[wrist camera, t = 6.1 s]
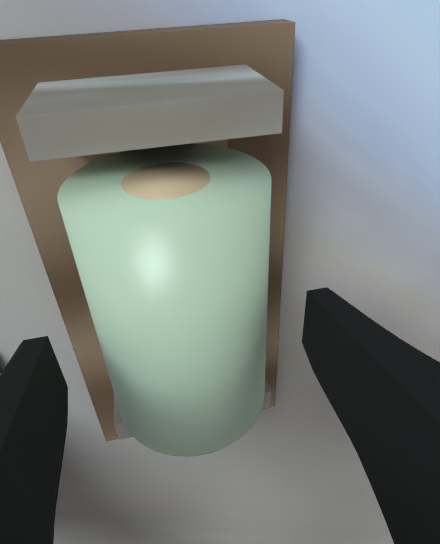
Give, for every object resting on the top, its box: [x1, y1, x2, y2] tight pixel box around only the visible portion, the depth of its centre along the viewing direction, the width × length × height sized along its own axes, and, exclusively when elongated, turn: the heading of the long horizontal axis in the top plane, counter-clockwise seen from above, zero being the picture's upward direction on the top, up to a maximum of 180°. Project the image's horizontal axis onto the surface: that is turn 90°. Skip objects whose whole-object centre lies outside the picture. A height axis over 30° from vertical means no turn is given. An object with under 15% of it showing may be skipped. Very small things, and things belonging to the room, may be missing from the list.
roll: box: [57, 144, 271, 456], centre depth 13 cm, size 8×5×5 cm, turn 2°
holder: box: [0, 19, 295, 441], centre depth 16 cm, size 18×9×4 cm, turn 2°
